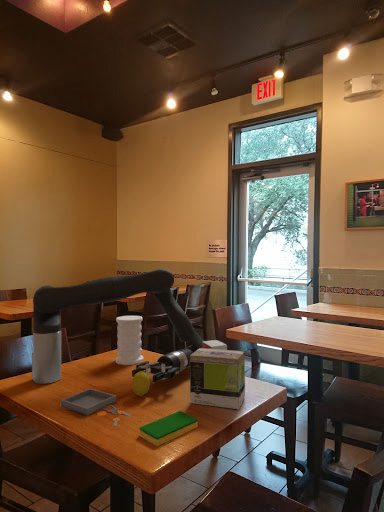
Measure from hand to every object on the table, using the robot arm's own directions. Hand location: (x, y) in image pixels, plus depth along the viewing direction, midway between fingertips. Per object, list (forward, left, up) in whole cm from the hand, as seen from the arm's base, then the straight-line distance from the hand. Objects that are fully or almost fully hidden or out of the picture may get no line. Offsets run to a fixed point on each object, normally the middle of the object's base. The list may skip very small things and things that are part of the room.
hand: (143, 376), depth 115 cm
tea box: (+22, +9, -6) cm, 25 cm away
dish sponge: (+21, -14, -7) cm, 26 cm away
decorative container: (-29, +26, -6) cm, 39 cm away
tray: (-9, -14, -6) cm, 18 cm away
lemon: (0, -1, -6) cm, 6 cm away
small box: (+12, +25, -6) cm, 28 cm away
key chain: (+2, -15, -7) cm, 17 cm away
